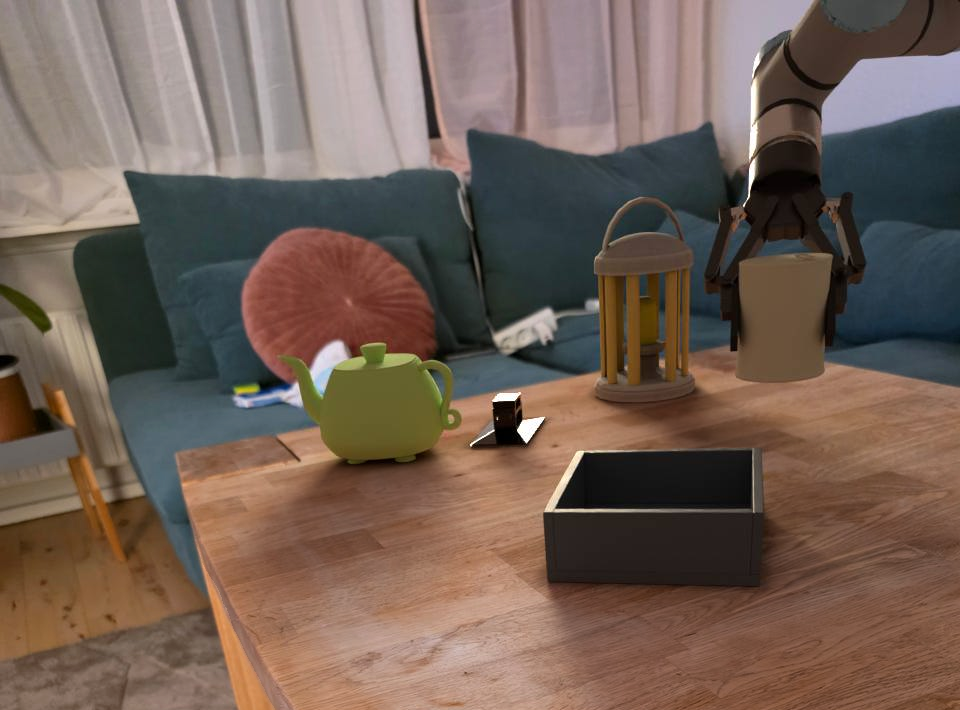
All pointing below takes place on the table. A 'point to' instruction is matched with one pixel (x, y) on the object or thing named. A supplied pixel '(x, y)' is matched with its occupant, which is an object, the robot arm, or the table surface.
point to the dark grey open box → (658, 518)
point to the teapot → (379, 405)
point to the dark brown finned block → (508, 424)
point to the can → (782, 317)
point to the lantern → (643, 313)
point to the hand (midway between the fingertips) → (781, 341)
